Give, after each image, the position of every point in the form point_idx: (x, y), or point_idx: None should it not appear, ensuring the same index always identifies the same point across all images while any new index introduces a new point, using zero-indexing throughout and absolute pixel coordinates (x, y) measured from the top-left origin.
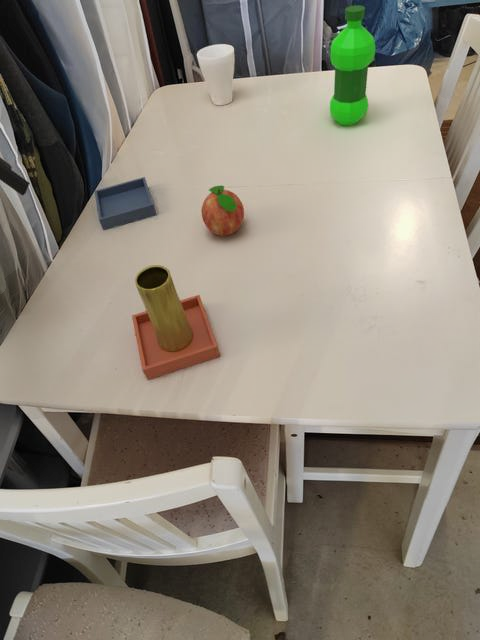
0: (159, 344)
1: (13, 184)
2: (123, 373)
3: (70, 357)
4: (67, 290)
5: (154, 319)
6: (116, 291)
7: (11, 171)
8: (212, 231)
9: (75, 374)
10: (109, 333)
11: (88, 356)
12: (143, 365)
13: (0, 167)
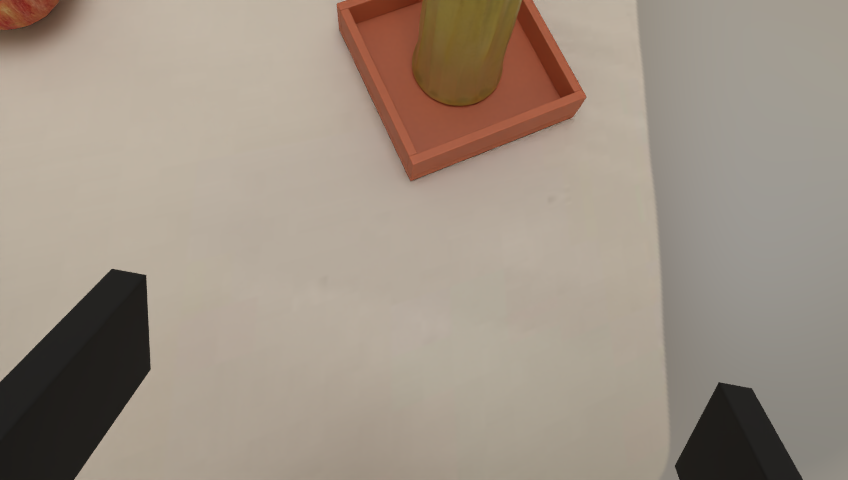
0: (488, 92)
1: (108, 389)
2: (561, 178)
3: (527, 337)
4: (258, 455)
5: (517, 10)
6: (274, 277)
7: (44, 353)
8: (51, 5)
9: (578, 302)
10: (439, 250)
11: (519, 285)
12: (572, 98)
13: (25, 418)
